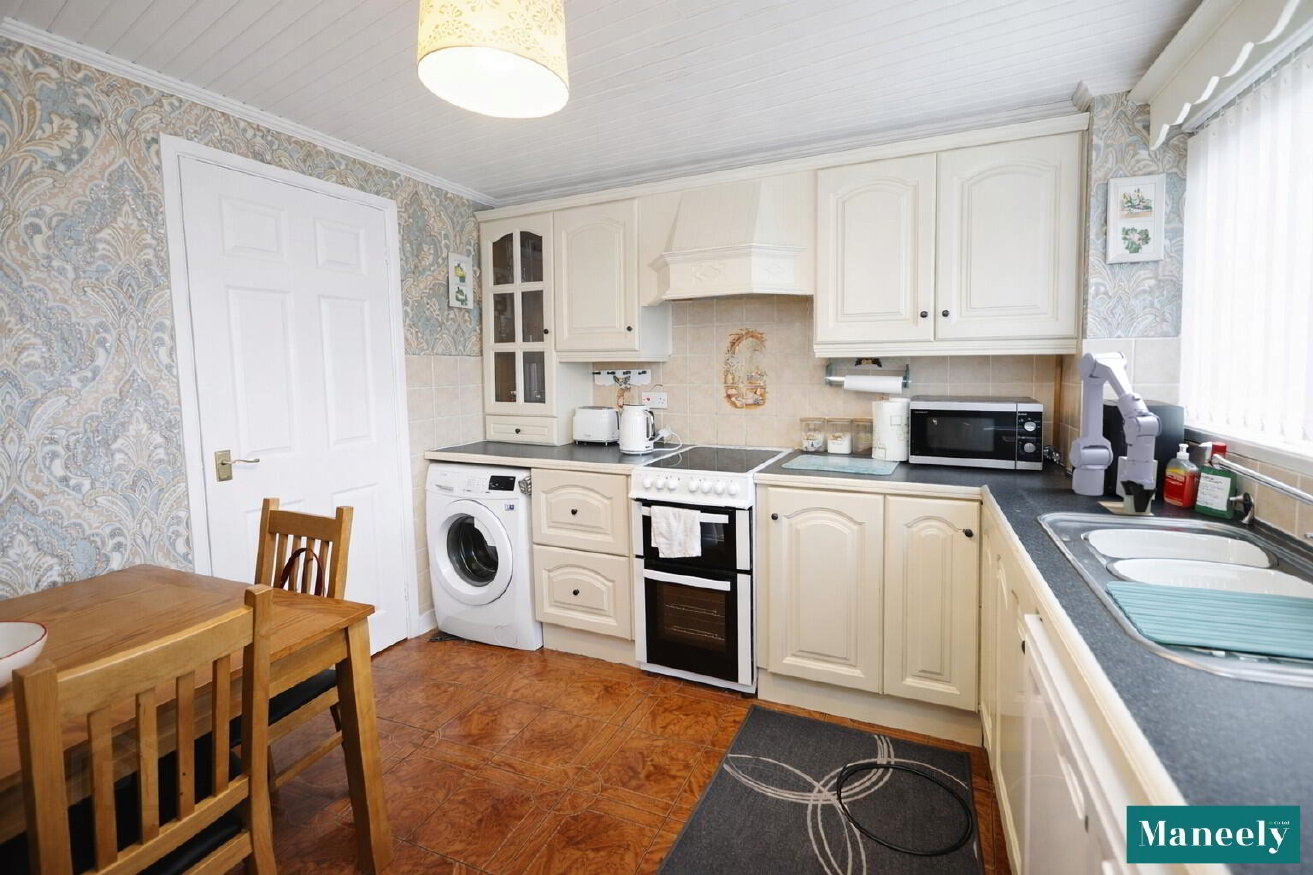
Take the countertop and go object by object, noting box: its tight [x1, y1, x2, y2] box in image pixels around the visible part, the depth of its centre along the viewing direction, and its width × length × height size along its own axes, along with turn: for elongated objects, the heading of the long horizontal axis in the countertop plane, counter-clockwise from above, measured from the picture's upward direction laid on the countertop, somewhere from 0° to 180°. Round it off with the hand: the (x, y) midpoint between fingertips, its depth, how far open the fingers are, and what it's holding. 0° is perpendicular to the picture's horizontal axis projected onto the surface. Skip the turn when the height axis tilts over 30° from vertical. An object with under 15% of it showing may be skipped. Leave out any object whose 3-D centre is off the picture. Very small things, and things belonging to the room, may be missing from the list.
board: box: [1097, 501, 1156, 517], centre depth 176 cm, size 14×9×1 cm, turn 162°
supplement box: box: [1115, 456, 1158, 500], centre depth 188 cm, size 7×7×13 cm
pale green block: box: [1123, 495, 1152, 514], centre depth 172 cm, size 5×5×4 cm
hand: (1136, 509), depth 172 cm, fingers closed on pale green block, 4 cm apart
